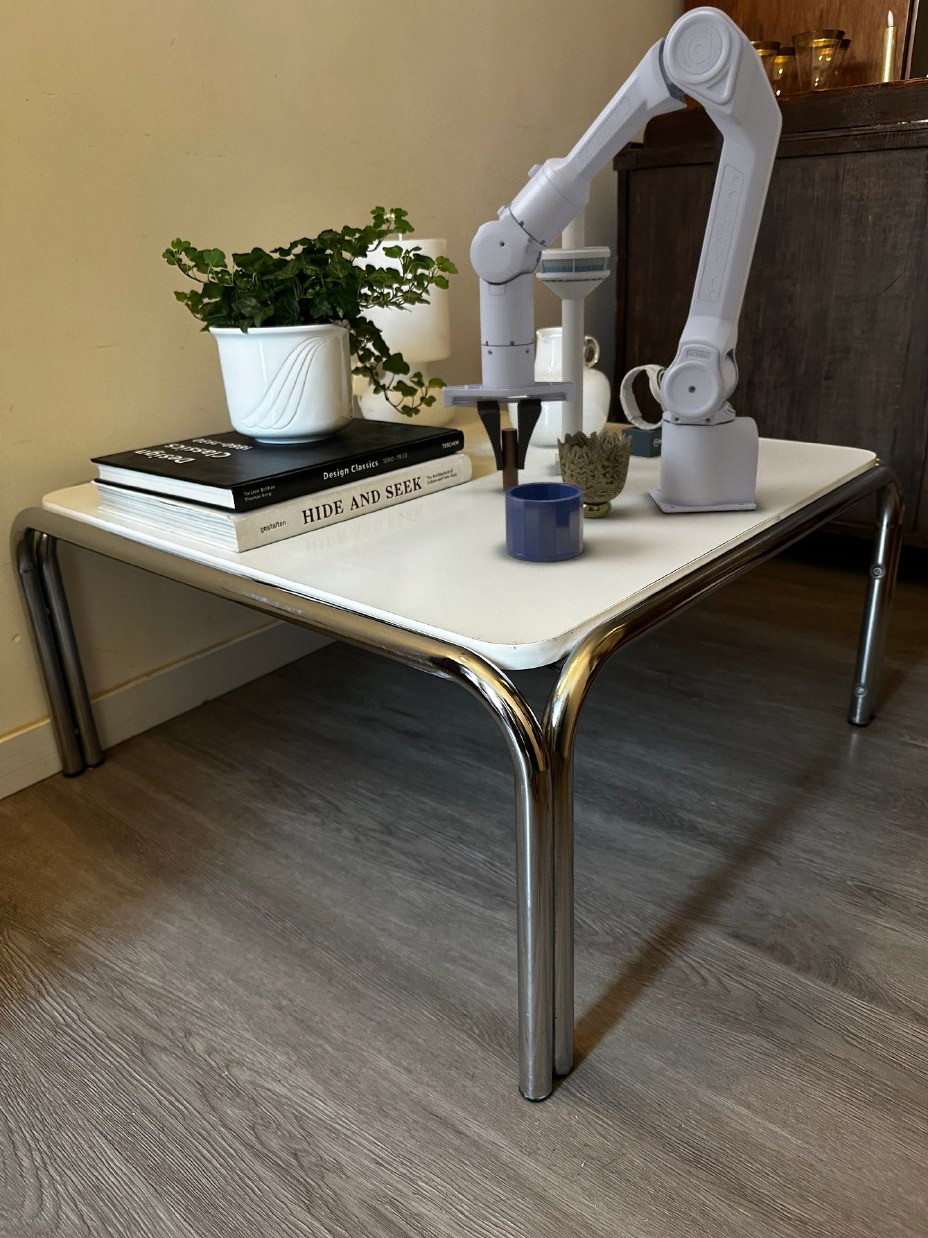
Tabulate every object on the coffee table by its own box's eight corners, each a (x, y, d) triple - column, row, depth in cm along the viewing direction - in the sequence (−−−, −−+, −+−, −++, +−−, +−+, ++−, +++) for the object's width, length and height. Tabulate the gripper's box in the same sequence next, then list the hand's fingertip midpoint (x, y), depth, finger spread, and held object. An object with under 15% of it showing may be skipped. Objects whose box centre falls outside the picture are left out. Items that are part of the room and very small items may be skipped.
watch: (662, 459, 118) (666, 370, 114) (610, 451, 123) (612, 366, 119) (686, 451, 121) (690, 364, 117) (634, 444, 127) (637, 361, 123)
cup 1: (577, 537, 89) (578, 480, 87) (587, 560, 82) (587, 499, 80) (504, 539, 89) (503, 483, 87) (508, 563, 82) (506, 503, 80)
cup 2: (612, 528, 91) (613, 447, 88) (545, 519, 94) (544, 441, 91) (641, 509, 97) (643, 432, 94) (576, 502, 100) (577, 427, 97)
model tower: (604, 462, 117) (609, 202, 106) (608, 477, 110) (613, 200, 99) (538, 463, 118) (536, 206, 107) (537, 478, 111) (535, 203, 99)
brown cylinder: (518, 488, 107) (517, 427, 104) (519, 492, 105) (517, 430, 102) (502, 489, 107) (500, 428, 104) (503, 493, 105) (501, 431, 102)
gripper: (571, 337, 103) (570, 457, 108) (441, 342, 103) (446, 462, 109) (578, 343, 97) (577, 471, 102) (439, 349, 97) (446, 477, 102)
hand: (510, 468), depth 105 cm, fingers closed on brown cylinder, 2 cm apart
